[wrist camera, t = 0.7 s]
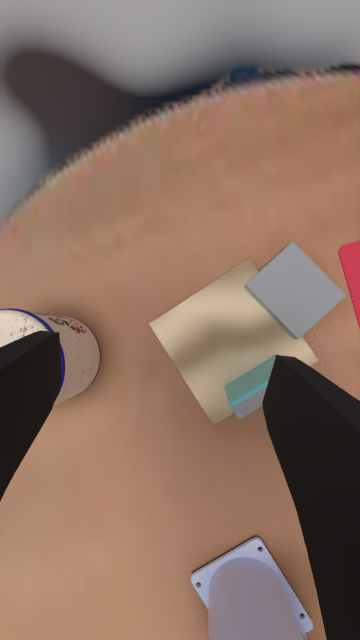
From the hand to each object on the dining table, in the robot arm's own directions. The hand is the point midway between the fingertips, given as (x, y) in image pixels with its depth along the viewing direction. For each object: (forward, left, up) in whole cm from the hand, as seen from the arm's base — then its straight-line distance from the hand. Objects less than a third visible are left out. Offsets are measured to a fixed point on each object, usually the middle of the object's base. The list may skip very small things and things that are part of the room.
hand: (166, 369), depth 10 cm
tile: (-6, -3, -20) cm, 21 cm away
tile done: (-1, -11, -20) cm, 23 cm away
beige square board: (-2, -3, -20) cm, 21 cm away
